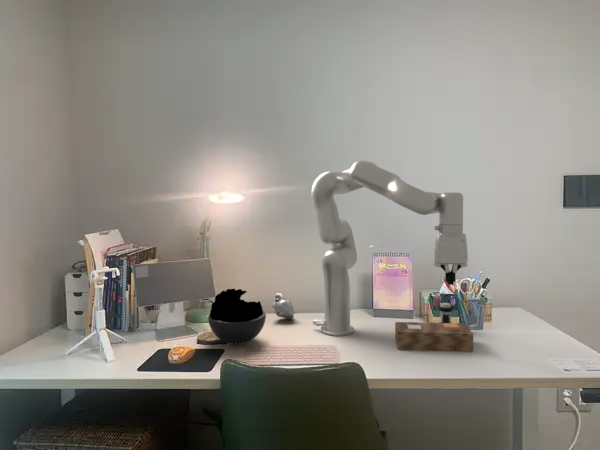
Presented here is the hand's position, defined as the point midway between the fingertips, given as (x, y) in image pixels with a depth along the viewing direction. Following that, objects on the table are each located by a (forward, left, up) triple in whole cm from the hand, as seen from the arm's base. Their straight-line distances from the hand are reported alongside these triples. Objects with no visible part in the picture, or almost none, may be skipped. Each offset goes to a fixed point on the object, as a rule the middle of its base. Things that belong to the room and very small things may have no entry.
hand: (450, 283), depth 157 cm
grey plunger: (-12, 0, -21) cm, 24 cm away
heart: (-61, +25, -21) cm, 69 cm away
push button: (+2, +18, -21) cm, 28 cm away
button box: (-6, 0, -21) cm, 22 cm away
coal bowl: (-73, -4, -21) cm, 76 cm away
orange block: (0, 0, -20) cm, 20 cm away
